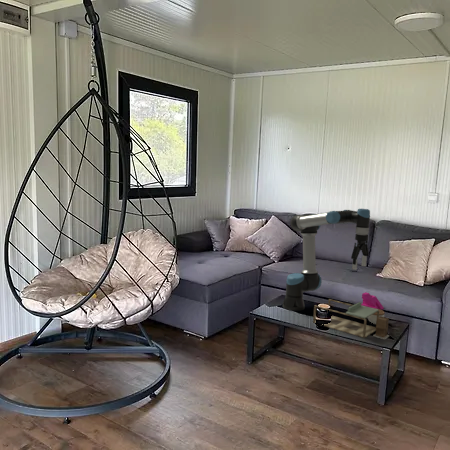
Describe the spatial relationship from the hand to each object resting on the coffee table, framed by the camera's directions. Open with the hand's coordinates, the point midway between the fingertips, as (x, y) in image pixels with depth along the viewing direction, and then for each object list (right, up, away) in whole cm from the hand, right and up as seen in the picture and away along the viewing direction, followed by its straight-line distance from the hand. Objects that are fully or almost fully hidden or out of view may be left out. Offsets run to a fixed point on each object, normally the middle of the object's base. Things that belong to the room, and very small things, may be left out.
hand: (359, 267), depth 279 cm
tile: (+9, -39, -13) cm, 42 cm away
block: (+9, -39, -13) cm, 42 cm away
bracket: (+21, -33, +39) cm, 55 cm away
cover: (0, -26, -6) cm, 27 cm away
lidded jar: (+13, -36, +10) cm, 40 cm away
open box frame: (-8, -37, +2) cm, 37 cm away
